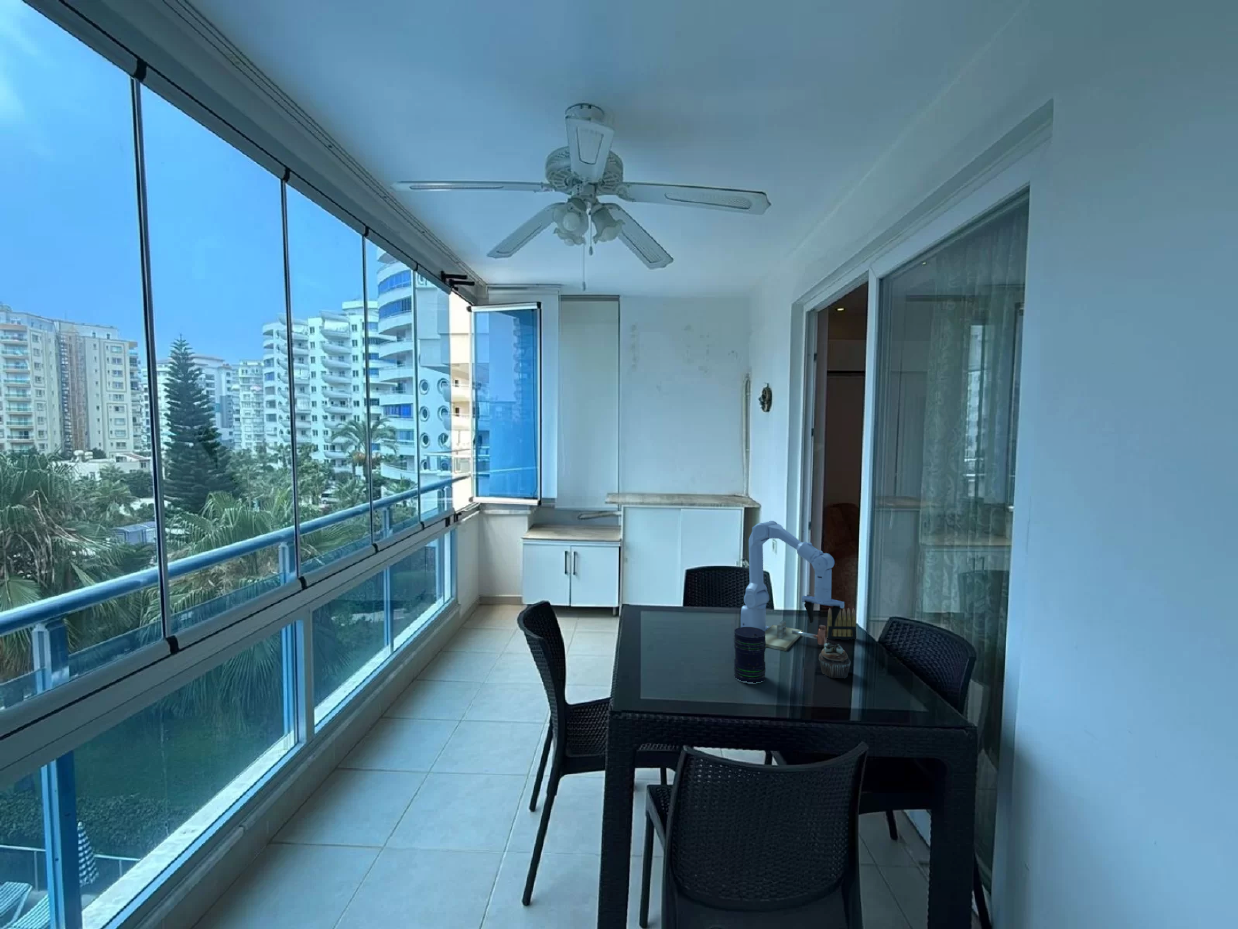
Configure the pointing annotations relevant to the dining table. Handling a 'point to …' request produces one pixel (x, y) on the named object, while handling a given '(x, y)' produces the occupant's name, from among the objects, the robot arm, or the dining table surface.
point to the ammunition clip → (842, 626)
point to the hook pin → (820, 635)
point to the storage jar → (749, 654)
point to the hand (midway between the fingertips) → (822, 624)
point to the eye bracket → (780, 636)
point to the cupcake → (834, 661)
